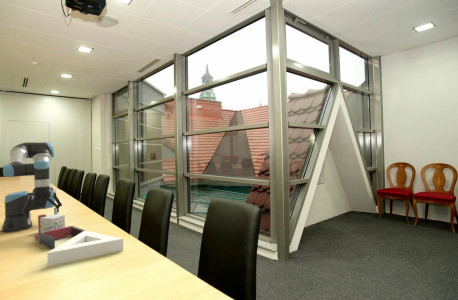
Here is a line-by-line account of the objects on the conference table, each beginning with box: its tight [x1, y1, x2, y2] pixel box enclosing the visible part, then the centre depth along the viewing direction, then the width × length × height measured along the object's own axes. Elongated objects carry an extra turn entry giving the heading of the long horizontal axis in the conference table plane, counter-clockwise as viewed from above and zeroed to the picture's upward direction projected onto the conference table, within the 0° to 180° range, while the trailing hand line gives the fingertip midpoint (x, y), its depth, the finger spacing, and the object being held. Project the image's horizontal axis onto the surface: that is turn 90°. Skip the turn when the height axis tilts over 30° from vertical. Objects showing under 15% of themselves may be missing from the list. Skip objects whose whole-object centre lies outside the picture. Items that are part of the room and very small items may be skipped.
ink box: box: [40, 213, 66, 233], centre depth 146 cm, size 9×8×12 cm
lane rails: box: [38, 225, 86, 250], centre depth 139 cm, size 16×16×5 cm
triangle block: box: [47, 230, 124, 267], centre depth 127 cm, size 30×26×6 cm
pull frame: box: [34, 214, 71, 240], centre depth 149 cm, size 24×12×10 cm, turn 54°
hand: (43, 221), depth 155 cm, fingers open, 13 cm apart
